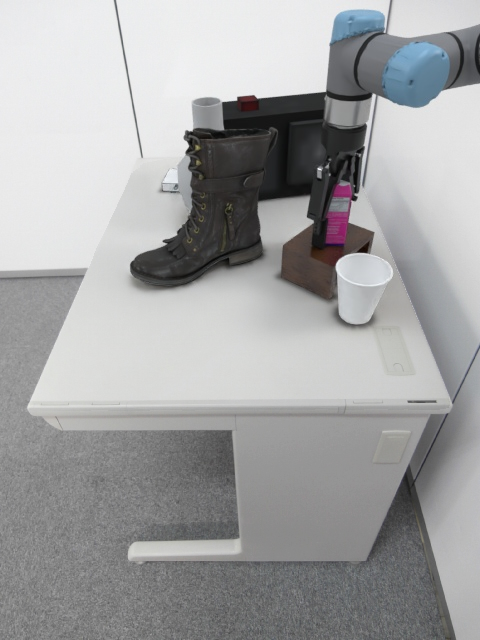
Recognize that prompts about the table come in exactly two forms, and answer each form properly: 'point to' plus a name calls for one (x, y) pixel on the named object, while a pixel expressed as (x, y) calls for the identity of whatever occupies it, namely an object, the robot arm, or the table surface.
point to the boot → (214, 207)
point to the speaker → (284, 138)
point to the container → (170, 181)
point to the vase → (204, 116)
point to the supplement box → (338, 215)
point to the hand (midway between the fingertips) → (329, 237)
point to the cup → (361, 285)
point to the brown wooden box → (320, 259)
